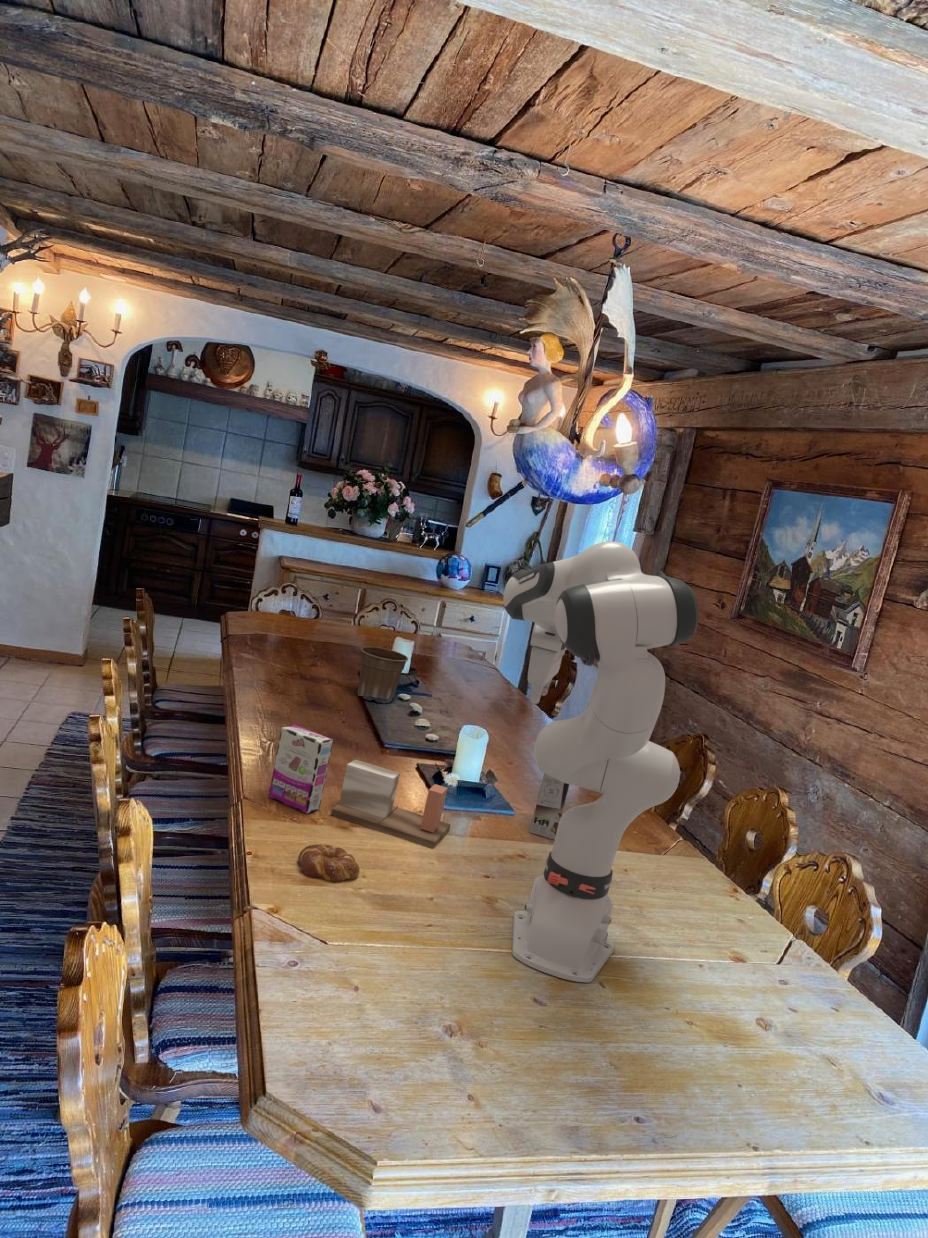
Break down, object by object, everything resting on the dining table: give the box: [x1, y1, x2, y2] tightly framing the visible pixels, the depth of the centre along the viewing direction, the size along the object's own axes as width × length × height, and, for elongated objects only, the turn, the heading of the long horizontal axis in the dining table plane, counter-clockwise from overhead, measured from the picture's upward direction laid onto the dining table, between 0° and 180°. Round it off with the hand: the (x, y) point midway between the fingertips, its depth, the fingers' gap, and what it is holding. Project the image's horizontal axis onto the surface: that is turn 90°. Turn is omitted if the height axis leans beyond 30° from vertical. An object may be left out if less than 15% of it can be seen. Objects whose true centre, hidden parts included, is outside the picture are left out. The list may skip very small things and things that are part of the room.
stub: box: [420, 783, 448, 833], centre depth 187 cm, size 4×3×9 cm, turn 164°
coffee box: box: [529, 773, 570, 840], centre depth 205 cm, size 9×6×16 cm
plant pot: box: [356, 646, 409, 699], centre depth 290 cm, size 16×16×16 cm
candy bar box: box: [268, 724, 334, 814], centre depth 188 cm, size 11×5×16 cm, turn 62°
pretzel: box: [297, 843, 361, 882], centre depth 162 cm, size 12×11×4 cm
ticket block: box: [330, 759, 451, 850], centre depth 190 cm, size 12×24×11 cm, turn 74°
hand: (538, 698), depth 183 cm, fingers open, 8 cm apart
